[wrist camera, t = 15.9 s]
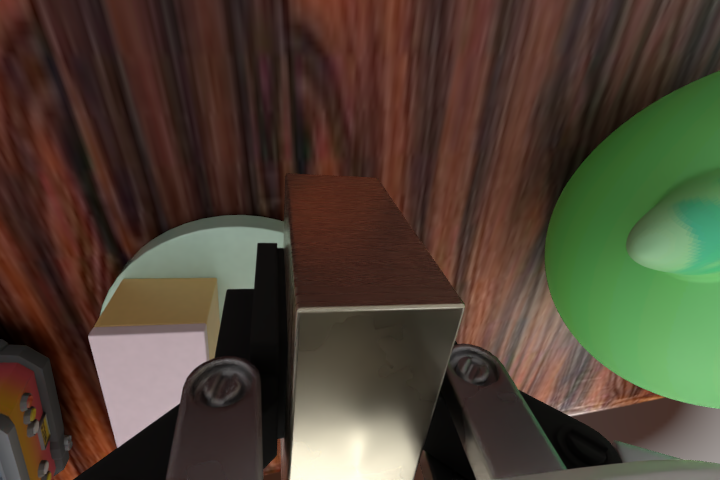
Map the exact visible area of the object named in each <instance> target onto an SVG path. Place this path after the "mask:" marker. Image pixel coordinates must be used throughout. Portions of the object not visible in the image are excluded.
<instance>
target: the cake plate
mask: <svg viewBox="0 0 720 480" xmlns="http://www.w3.org/2000/svg"><path fill="white" fill-rule="evenodd" d="M257 243H277V248H283V243H284V221H280V220H276V219H271V218H266V217H261V216H249V215H225V216H217V217H210V218H204V219H200V220H196V221H193V222H189V223H185V224H183V225H181V226H178V227H176V228H173V229H171V230H168V231H167V232H165V233H163V234H161V235H160V236H158V237H156V238H154V239H153V240H151V241H150V242H149V243H147V244H146V245H145V246H144V247H142V248H141V249H140V250H138V251H137V253H136V254H135V255H134V256H133V257H132V258H131V259H130V260H129V261H128V262H127V263H126V265H125V266H124V268H123V269H122V271H121V272H120V274H119V275H118V277H117V278H116V280H115V281H114V283H113V285H112V286H111V288H110V289H109V291H108V293H107V296H106V298H105V300H104V302H103V305H102V309H101V313H100V316H101V314H102V312H103V311H104V309H105V307H106V306H107V304H108V303H109V301H110V299H111V298H112V296H113V294H114V293H115V291H116V289H117V288H118V286H119V285H120V283H121V281H122V280H123V279H147V278H217V285H218V301H219V317H220V324H221V318H222V313H223V307H224V301H225V296H226V291H227V289H254V283H255V270H256V256H257Z"/></svg>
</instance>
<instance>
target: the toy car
mask: <svg viewBox="0 0 720 480" xmlns="http://www.w3.org/2000/svg"><path fill="white" fill-rule="evenodd" d="M71 447H72V441H71V436H70V435H64V426H63V420H62V415H61V410H60V405H59V401H58V396H57V392H56V387H55V382H54V378H53V373H52V368H51V364H50V359H49V358H48V357H46V356H44V355H42V354H41V353H39V352H37V351H35V350H34V349H32V348H30V347H28V346H27V345H8V343H7V342H6V341H4V340H3V339H0V480H52V479H53V476H55V475H56V474H58V473H59V472H61V471H62V470H64V468H65V466H66V464H67V462H68V459H69V453H68V450H70V449H71Z"/></svg>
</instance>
